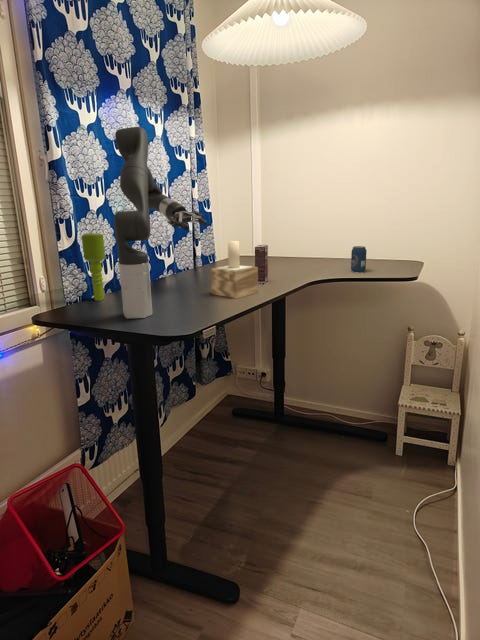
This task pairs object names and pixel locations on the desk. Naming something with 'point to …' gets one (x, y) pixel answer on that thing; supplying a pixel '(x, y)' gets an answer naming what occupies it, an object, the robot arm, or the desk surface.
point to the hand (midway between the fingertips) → (196, 226)
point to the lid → (233, 258)
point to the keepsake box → (234, 282)
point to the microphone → (95, 260)
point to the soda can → (358, 259)
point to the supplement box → (262, 262)
